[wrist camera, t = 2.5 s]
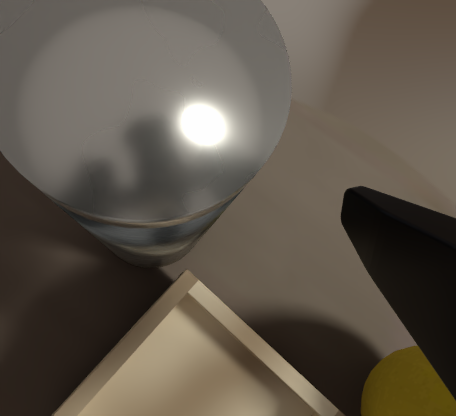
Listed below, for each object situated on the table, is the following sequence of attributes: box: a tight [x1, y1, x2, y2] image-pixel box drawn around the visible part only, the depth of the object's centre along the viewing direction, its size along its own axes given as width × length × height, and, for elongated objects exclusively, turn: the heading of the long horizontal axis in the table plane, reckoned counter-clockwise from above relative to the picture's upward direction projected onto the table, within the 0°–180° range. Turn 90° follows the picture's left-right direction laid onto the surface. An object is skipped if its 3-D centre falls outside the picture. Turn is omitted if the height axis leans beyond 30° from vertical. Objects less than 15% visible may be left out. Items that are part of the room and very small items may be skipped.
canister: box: [0, 0, 292, 268], centre depth 12 cm, size 5×5×13 cm
